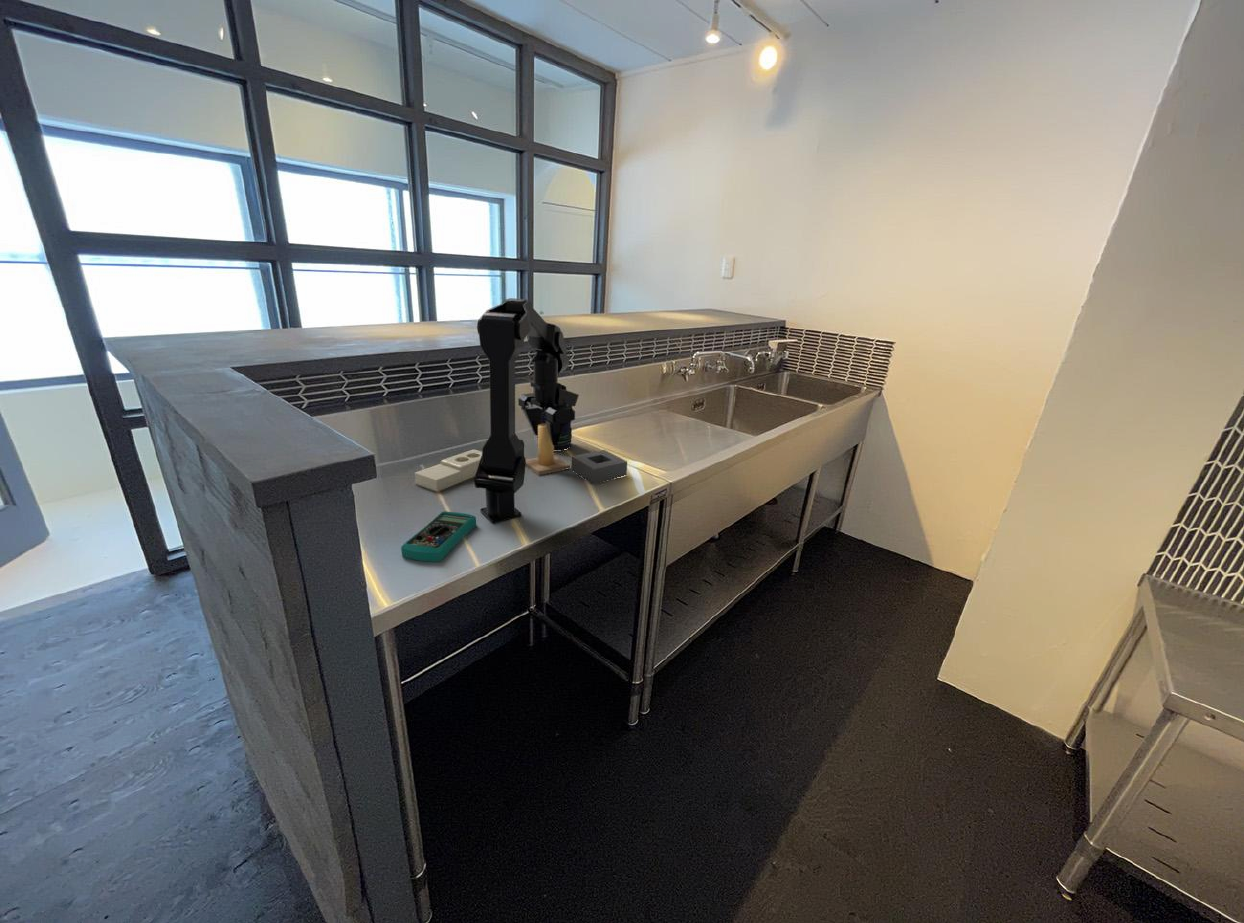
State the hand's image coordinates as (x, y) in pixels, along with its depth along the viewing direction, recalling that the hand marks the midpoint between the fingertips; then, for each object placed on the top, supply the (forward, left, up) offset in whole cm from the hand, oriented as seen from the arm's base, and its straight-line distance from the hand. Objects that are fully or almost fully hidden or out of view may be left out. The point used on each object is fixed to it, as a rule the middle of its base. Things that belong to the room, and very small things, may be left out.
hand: (545, 439), depth 128 cm
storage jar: (+13, -10, -7) cm, 18 cm away
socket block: (-11, -9, -7) cm, 16 cm away
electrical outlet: (+5, +21, -8) cm, 23 cm away
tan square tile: (0, 0, -7) cm, 7 cm away
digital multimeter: (-23, +35, -8) cm, 42 cm away
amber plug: (0, 0, -6) cm, 6 cm away
